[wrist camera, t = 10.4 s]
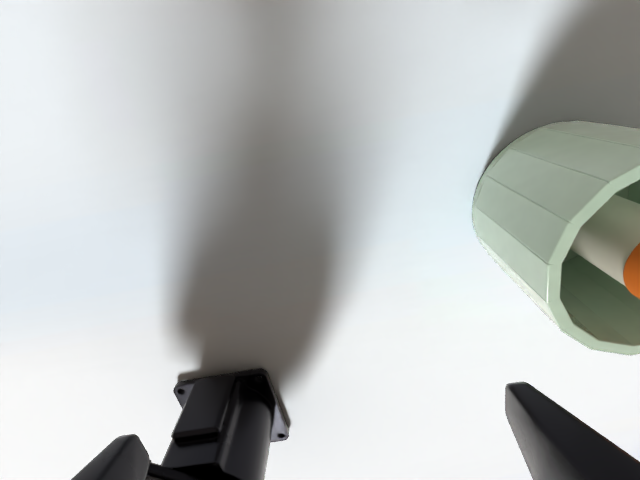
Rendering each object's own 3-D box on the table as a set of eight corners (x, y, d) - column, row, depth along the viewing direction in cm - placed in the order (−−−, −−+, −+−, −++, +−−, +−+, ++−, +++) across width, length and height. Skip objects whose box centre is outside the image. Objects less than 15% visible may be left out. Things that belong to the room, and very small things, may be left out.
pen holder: (621, 253, 19) (766, 335, 13) (475, 279, 20) (543, 369, 14) (641, 103, 16) (845, 114, 10) (467, 141, 17) (551, 174, 11)
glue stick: (583, 224, 18) (754, 317, 11) (524, 235, 19) (652, 333, 11) (588, 169, 17) (783, 231, 10) (525, 181, 17) (668, 251, 10)
